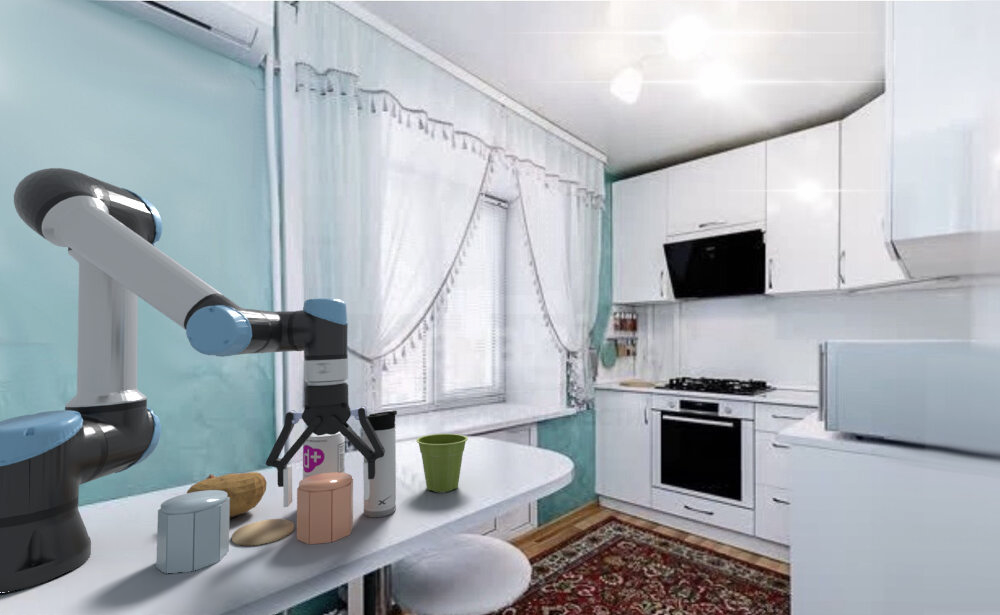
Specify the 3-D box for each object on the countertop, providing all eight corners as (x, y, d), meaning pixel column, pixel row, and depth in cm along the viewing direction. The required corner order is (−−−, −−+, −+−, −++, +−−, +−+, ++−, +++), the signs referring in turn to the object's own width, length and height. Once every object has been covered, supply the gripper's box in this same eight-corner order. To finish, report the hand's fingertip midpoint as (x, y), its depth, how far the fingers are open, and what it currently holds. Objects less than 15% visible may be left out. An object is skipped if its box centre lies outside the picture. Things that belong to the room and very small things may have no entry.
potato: (188, 514, 93) (189, 474, 93) (267, 503, 99) (267, 465, 99) (178, 533, 84) (179, 488, 84) (265, 519, 90) (265, 477, 90)
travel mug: (389, 518, 89) (388, 413, 90) (357, 516, 90) (357, 413, 91) (402, 506, 95) (402, 408, 96) (372, 505, 96) (372, 408, 97)
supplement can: (319, 516, 91) (320, 438, 92) (294, 508, 95) (294, 434, 96) (352, 503, 98) (353, 431, 98) (327, 496, 102) (327, 427, 103)
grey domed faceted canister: (146, 576, 69) (147, 512, 69) (177, 548, 77) (178, 492, 78) (212, 569, 70) (213, 507, 71) (235, 543, 79) (236, 488, 80)
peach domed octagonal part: (292, 545, 78) (293, 489, 78) (305, 524, 87) (305, 474, 87) (347, 540, 79) (348, 485, 80) (354, 520, 88) (355, 471, 89)
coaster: (222, 548, 77) (222, 544, 77) (244, 524, 87) (244, 521, 87) (285, 542, 79) (285, 539, 79) (300, 520, 89) (300, 516, 89)
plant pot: (477, 489, 105) (477, 439, 106) (430, 500, 98) (430, 447, 99) (453, 476, 115) (452, 431, 115) (408, 486, 108) (408, 437, 109)
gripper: (245, 388, 79) (245, 515, 77) (395, 381, 83) (397, 501, 82) (260, 384, 86) (260, 500, 85) (397, 377, 91) (399, 487, 89)
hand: (328, 501), depth 83 cm, fingers open, 13 cm apart
